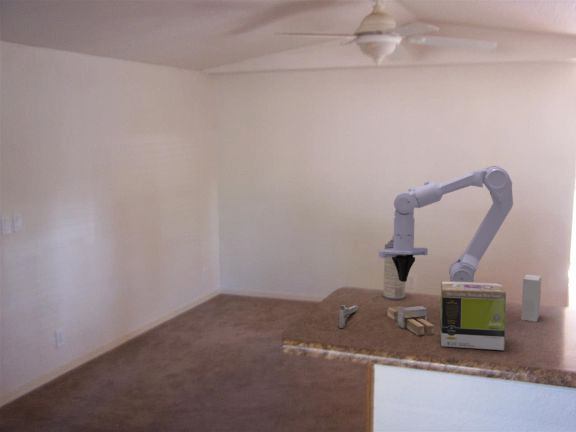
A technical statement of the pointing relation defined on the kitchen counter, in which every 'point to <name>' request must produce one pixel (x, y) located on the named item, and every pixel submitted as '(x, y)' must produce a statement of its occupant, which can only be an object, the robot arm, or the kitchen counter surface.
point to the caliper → (345, 314)
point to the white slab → (411, 314)
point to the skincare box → (531, 298)
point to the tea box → (472, 315)
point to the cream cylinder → (392, 278)
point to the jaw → (413, 325)
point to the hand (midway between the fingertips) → (402, 280)
